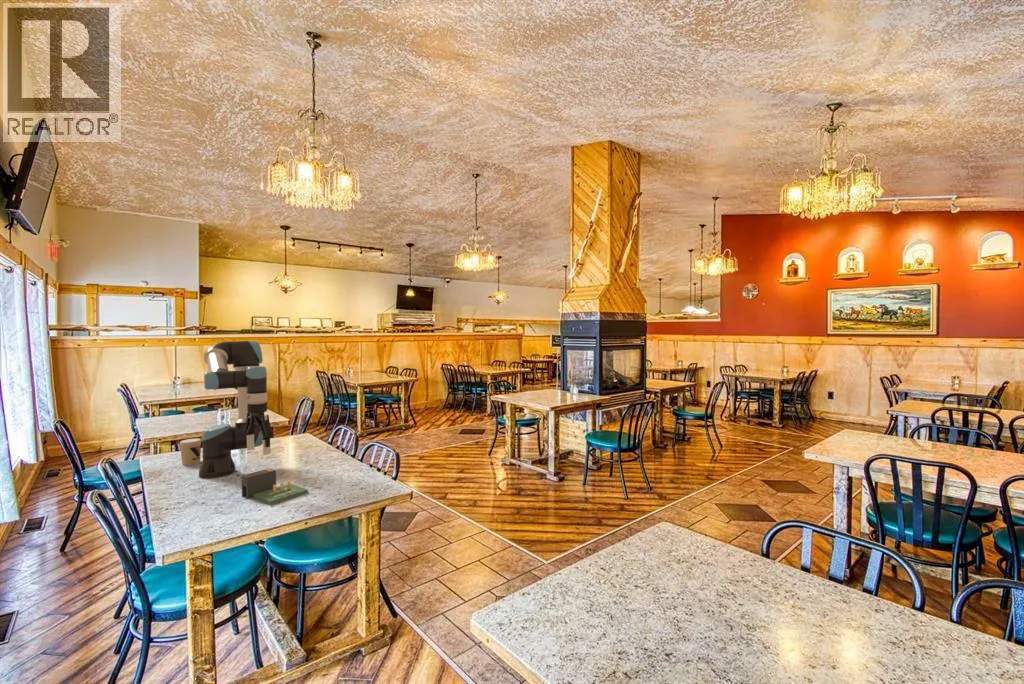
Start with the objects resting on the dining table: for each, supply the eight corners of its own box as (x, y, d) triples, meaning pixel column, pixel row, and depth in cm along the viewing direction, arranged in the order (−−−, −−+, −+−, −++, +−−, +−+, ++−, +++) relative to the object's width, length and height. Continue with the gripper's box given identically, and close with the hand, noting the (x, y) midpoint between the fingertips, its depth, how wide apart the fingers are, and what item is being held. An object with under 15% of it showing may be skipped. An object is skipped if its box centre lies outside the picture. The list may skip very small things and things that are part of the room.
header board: (253, 497, 191) (252, 484, 190) (290, 486, 204) (290, 474, 203) (270, 505, 183) (270, 491, 182) (307, 493, 196) (307, 480, 195)
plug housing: (241, 496, 192) (241, 475, 192) (270, 488, 202) (270, 468, 202) (247, 499, 189) (247, 477, 189) (276, 490, 199) (275, 470, 199)
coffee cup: (193, 465, 236) (193, 442, 236) (175, 465, 236) (175, 442, 236) (206, 460, 245) (205, 438, 245) (188, 460, 245) (188, 438, 245)
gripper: (234, 401, 198) (235, 449, 199) (263, 406, 184) (264, 458, 185) (252, 399, 205) (253, 446, 205) (281, 403, 190) (282, 454, 191)
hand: (258, 452), depth 195 cm, fingers open, 13 cm apart
